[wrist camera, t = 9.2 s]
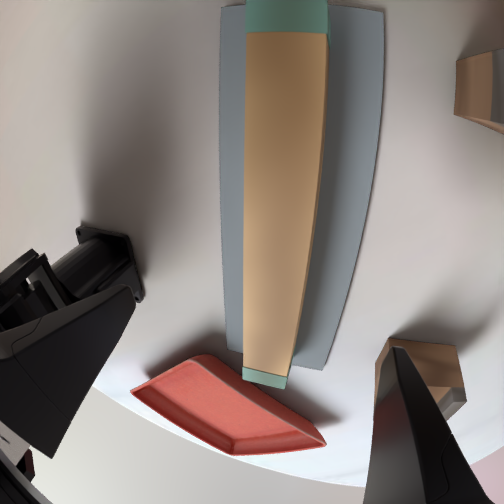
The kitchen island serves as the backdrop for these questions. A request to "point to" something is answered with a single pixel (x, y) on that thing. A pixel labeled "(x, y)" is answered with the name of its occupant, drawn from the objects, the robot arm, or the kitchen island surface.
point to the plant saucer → (226, 410)
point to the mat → (332, 177)
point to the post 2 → (481, 89)
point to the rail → (281, 174)
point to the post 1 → (432, 372)
